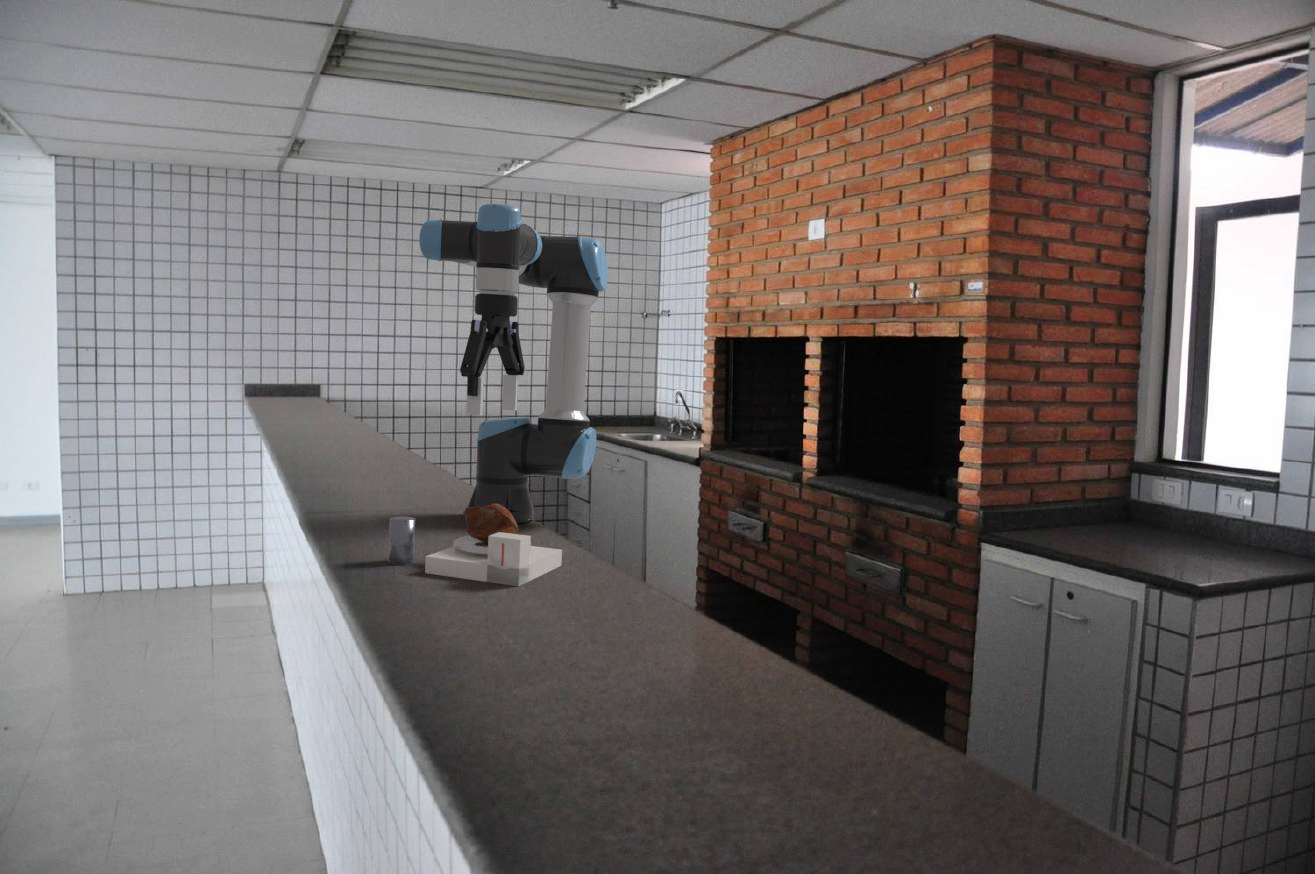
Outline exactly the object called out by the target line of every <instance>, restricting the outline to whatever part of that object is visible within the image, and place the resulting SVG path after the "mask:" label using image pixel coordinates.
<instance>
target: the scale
mask: <svg viewBox="0 0 1315 874" xmlns="http://www.w3.org/2000/svg"><path fill="white" fill-rule="evenodd" d="M531 537H532V535H526V534H520V535H519V534H511V533H503V532H498V533H495V534H492V535H490V536H488V555H481V554H472V553H466V552H462V551H459V550H457V549H455V548H454V547H453V546H451V547H448V548H445V549H442V550H439V551H437V552H435V553H431V554H428V555H426V556H425V564H424V574H428V575H437V576H441V577H443V576H444V577H450V578H456V579H463V580H470V581H471V580H472V581H479V582H483V583H492V584H499V585H505V586H514V587H520V586H522V585H524V584H526V583H529V582H531V581H533V580H535V579H537V578H539V577H541V576H543V575H545V574H547V573H549V572H551V571H553V570H555V569H557V568H559V567H562V561H563V559H562V558H563V557H562V556H563V549H560V548H551V547H543V546H535V545H531V549H530V542H531V543H532V541H531Z"/></svg>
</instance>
